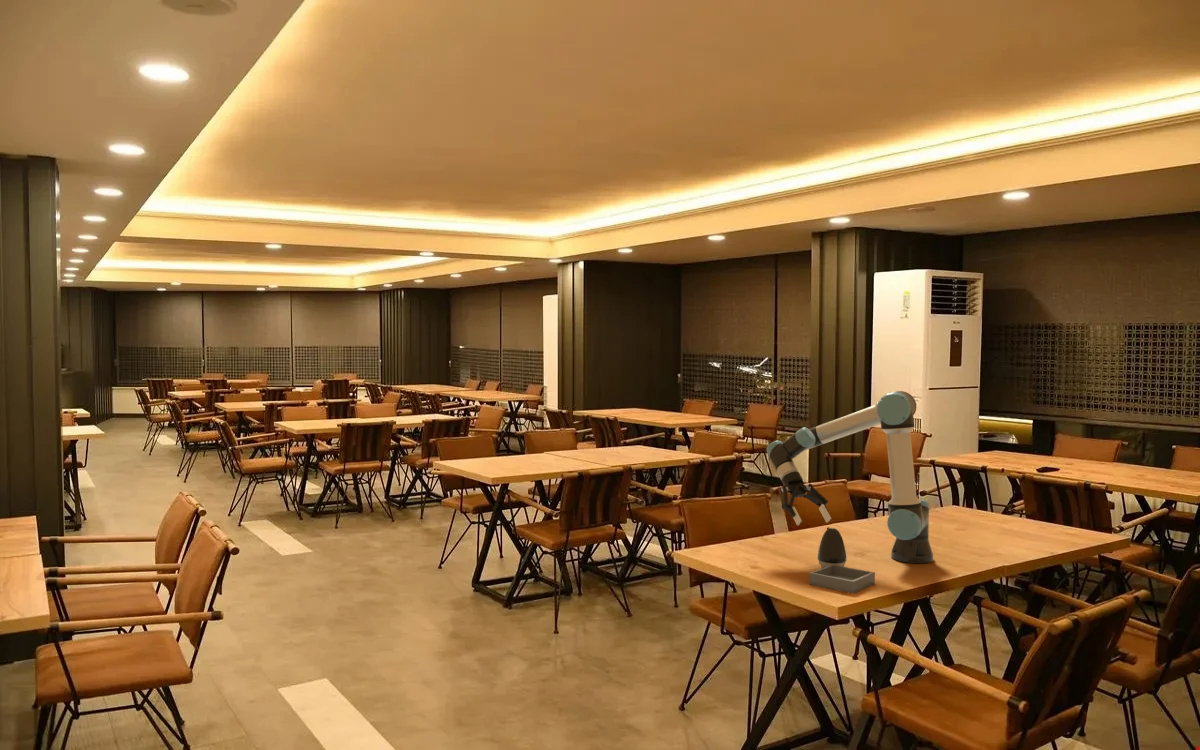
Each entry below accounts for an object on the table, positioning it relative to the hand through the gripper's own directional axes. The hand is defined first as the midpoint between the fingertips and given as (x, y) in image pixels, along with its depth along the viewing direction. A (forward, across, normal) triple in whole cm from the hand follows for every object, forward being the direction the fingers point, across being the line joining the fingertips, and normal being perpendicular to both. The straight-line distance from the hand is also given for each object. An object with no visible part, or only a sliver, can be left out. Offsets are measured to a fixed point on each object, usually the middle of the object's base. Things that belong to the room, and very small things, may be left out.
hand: (814, 521), depth 318 cm
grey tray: (+30, +10, +8) cm, 33 cm away
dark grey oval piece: (+18, 0, -4) cm, 19 cm away
